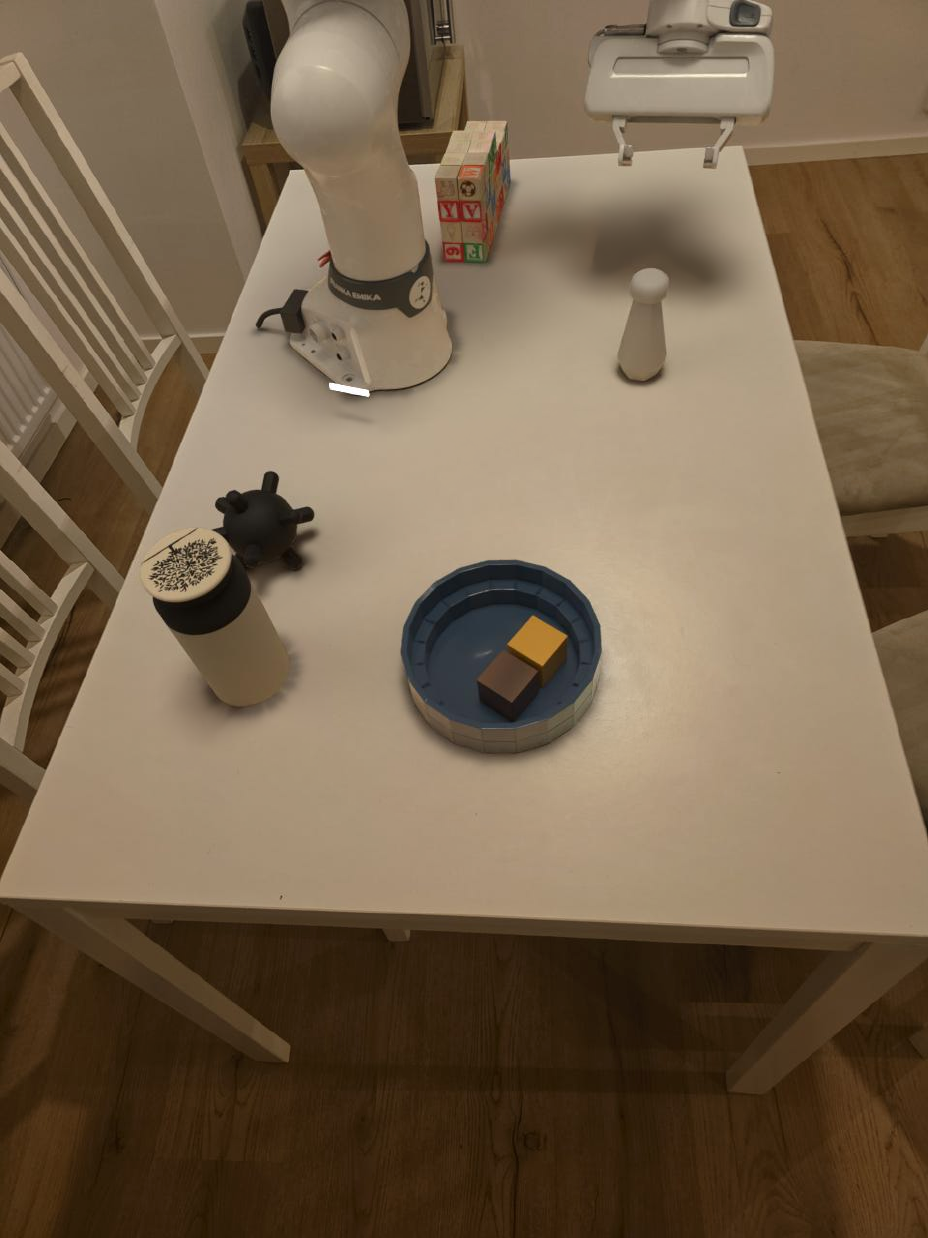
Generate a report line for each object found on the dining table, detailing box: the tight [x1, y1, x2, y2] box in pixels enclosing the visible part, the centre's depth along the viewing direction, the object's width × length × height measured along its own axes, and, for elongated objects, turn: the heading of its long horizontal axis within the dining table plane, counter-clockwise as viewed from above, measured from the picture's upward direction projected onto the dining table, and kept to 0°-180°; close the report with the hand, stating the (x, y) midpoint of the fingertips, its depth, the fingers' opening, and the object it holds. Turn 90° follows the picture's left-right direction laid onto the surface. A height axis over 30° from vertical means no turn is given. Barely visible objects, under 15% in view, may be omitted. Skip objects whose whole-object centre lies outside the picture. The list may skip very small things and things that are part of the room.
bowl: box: [400, 559, 603, 754], centre depth 76 cm, size 18×18×6 cm
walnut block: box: [477, 649, 539, 722], centre depth 74 cm, size 4×4×4 cm
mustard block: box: [507, 615, 568, 687], centre depth 76 cm, size 4×4×4 cm
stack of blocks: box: [434, 120, 511, 263], centre depth 117 cm, size 21×6×12 cm, turn 168°
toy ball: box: [210, 470, 315, 570], centre depth 85 cm, size 11×11×12 cm
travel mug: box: [139, 527, 291, 708], centre depth 73 cm, size 8×8×18 cm
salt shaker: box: [616, 267, 670, 382], centre depth 95 cm, size 6×6×13 cm
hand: (666, 166), depth 91 cm, fingers open, 8 cm apart
